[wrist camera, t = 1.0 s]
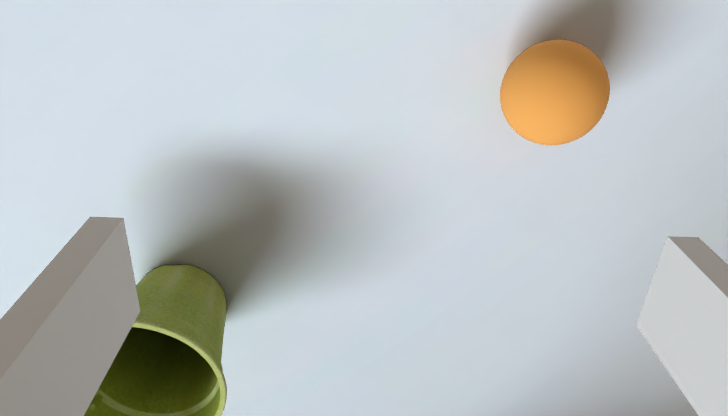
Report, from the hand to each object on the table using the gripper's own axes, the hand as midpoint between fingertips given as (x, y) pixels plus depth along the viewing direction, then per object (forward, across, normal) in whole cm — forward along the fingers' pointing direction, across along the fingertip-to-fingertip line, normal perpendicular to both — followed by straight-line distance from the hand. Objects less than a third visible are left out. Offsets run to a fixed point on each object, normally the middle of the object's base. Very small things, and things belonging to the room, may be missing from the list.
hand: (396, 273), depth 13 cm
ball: (+17, -10, 0) cm, 20 cm away
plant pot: (+20, +12, +16) cm, 29 cm away
